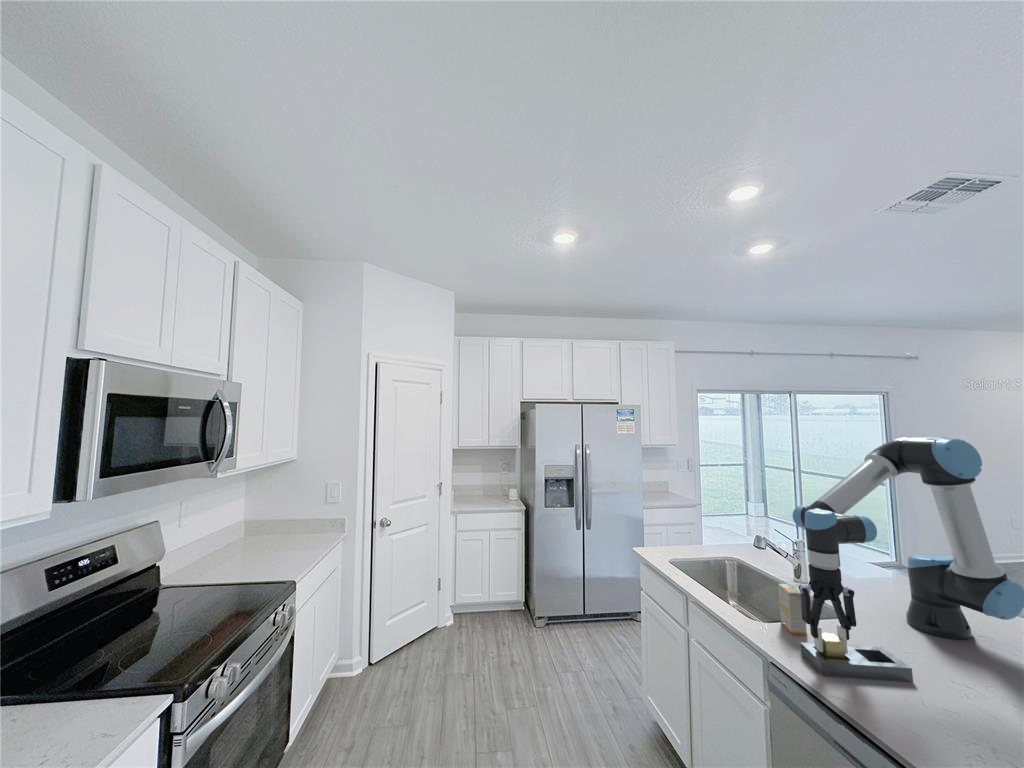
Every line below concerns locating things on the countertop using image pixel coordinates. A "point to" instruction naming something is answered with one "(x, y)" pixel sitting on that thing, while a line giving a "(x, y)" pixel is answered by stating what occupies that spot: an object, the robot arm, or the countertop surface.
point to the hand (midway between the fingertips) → (831, 650)
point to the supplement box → (791, 609)
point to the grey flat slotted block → (859, 664)
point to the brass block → (832, 647)
